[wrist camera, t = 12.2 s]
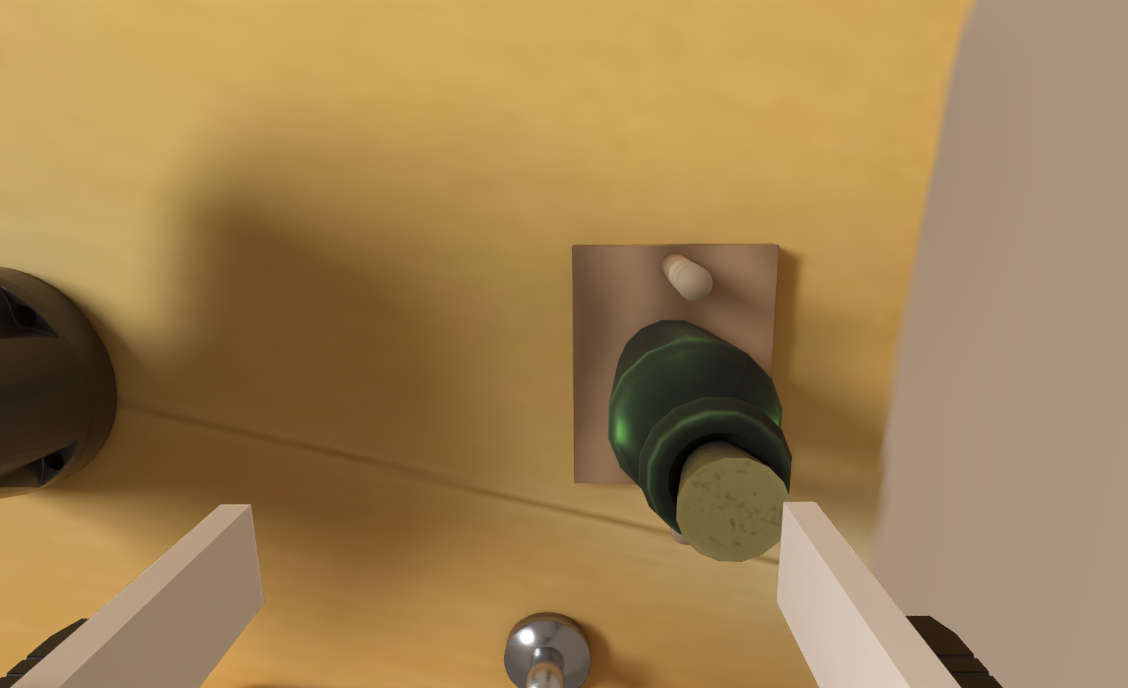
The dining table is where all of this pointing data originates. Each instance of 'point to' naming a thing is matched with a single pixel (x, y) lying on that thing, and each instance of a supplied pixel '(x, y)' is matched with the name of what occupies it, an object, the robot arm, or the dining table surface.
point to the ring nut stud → (547, 652)
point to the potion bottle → (702, 438)
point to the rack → (648, 295)
